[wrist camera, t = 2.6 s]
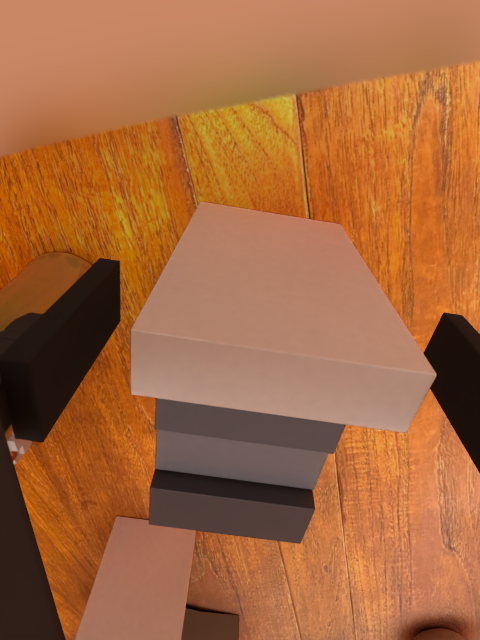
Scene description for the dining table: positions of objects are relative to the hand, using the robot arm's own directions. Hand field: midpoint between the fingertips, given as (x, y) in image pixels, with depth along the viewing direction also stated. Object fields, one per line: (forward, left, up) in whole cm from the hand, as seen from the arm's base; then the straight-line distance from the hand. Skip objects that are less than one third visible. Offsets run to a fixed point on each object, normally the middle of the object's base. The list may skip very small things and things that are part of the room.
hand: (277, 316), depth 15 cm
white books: (+37, -6, -11) cm, 39 cm away
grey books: (+9, 0, -11) cm, 14 cm away
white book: (0, 0, -11) cm, 11 cm away
